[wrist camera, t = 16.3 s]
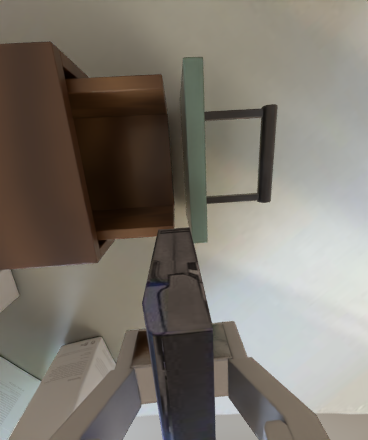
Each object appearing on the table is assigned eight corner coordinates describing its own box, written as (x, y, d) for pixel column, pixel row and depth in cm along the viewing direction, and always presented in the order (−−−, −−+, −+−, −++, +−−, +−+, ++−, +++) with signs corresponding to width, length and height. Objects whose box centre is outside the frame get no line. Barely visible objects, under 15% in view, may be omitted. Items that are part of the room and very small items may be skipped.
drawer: (257, 94, 20) (313, 50, 12) (252, 210, 23) (292, 236, 15) (53, 105, 19) (-33, 67, 11) (79, 221, 23) (28, 255, 15)
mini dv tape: (158, 228, 9) (133, 334, 4) (189, 226, 10) (213, 327, 4) (172, 356, 12) (169, 539, 6) (197, 354, 12) (217, 533, 6)
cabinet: (110, 98, 20) (51, 41, 10) (129, 221, 24) (97, 263, 14) (-37, 105, 20) (-242, 54, 10) (5, 229, 23) (-112, 278, 14)
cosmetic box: (61, 343, 29) (-59, 540, 14) (104, 333, 29) (29, 521, 14) (83, 382, 31) (1, 584, 16) (124, 373, 31) (77, 569, 16)
